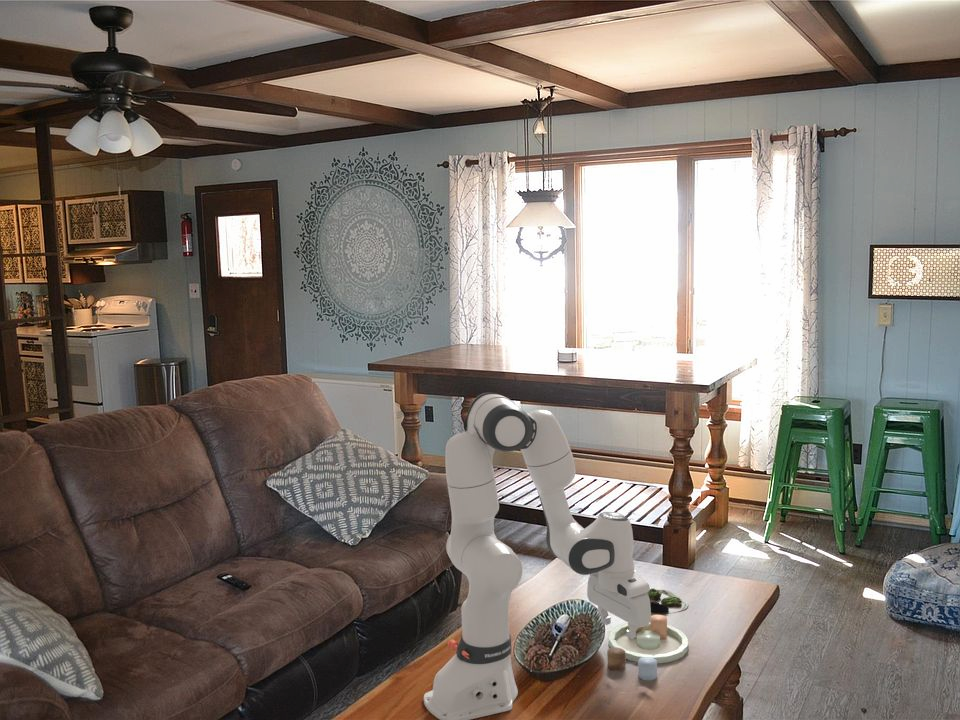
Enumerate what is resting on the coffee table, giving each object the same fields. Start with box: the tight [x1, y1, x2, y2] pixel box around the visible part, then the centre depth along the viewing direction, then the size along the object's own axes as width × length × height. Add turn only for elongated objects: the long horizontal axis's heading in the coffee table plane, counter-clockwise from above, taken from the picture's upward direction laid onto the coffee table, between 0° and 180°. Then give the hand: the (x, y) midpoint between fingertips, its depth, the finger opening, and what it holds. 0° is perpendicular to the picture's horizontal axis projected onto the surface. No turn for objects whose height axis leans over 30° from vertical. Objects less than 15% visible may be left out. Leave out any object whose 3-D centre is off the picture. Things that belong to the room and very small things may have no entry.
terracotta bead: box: [650, 615, 668, 640], centre depth 224 cm, size 4×4×5 cm
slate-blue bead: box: [637, 657, 658, 682], centre depth 204 cm, size 4×4×5 cm
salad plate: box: [647, 588, 689, 616], centre depth 247 cm, size 19×18×5 cm
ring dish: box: [608, 622, 689, 664], centre depth 220 cm, size 20×20×4 cm
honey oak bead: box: [627, 622, 645, 639], centre depth 225 cm, size 4×4×5 cm
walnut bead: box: [606, 647, 627, 671], centre depth 210 cm, size 4×4×5 cm
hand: (618, 630), depth 209 cm, fingers open, 8 cm apart
